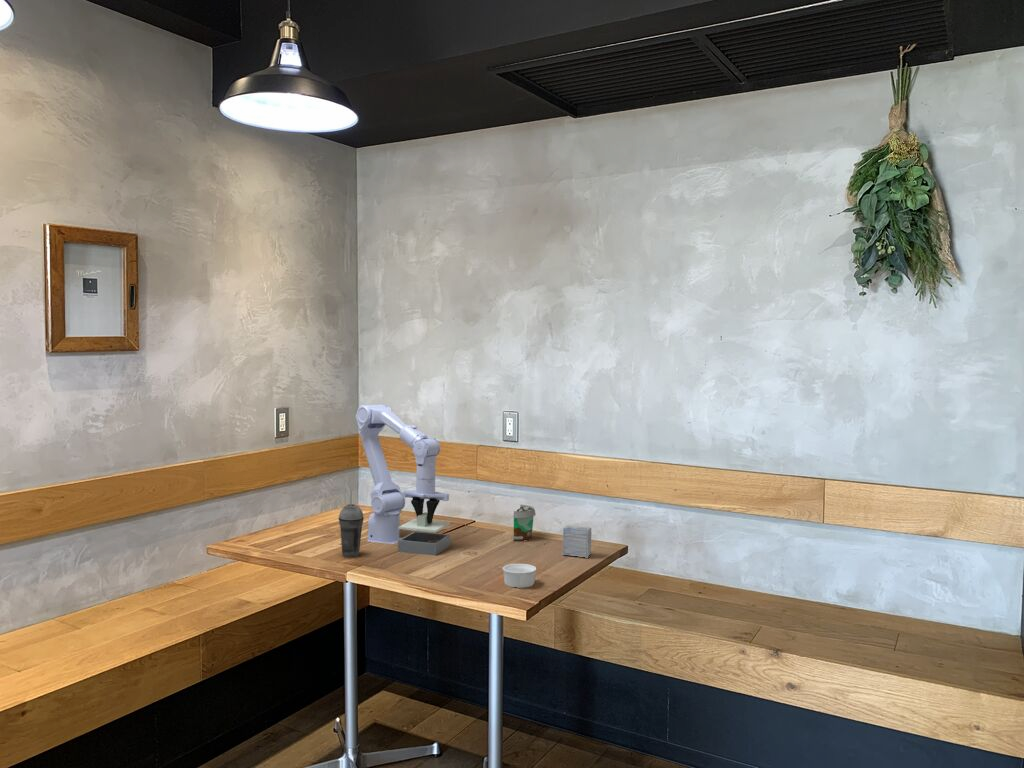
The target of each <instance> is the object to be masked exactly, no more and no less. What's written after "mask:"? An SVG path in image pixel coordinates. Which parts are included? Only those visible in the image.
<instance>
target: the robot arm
mask: <svg viewBox="0 0 1024 768" xmlns="http://www.w3.org/2000/svg"><path fill="white" fill-rule="evenodd" d="M355 419H356V424H357V426H358V430H359V437H360V440H361V443H362V447H363V450H364V453H365V457H366V460H367V464H368V466H369V470H370V475H371V478H372V481H373V484H374V488H372V490H371V491H370V494H369V495H370V498H371V499H370V500H371V503H370V504H371V508H372V510H373V512H372V513H370V515H369V518H368V522H367V523H368V524H367V540H366V542H373V543H380V544H381V543H382V544H389V545H390V544H392V545H394V544H396V543H397V544H398V540H400V539H402V538H403V537H401V536H400V529H398V527H399V526H401V525H400V519H401V516H400V514H401V513H402V510H403V509H404V508H405V506H406V498H412V500H410V502H411V505H412V507H413V509H414V512H415V514H416V517H417V516H419V515H421V514H423V513H424V505H425V504H426V509H427V510H426V511H427V523H428V524H430V523H432V520H434V515H435V512H436V509H437V507H438V506H439V504H440V501H443V502H448V501H449V500H450V493H446V492H445V493H444V492H437V491H436V472H437V471H436V467H437V466H436V462H437V458H436V457H437V456H438V455H439V454H440V452H441V445H440V442H439V441H438V440H437V438H436V437H429V436H427V434H425V433H423V432H422V431H420V429H418V427H417V426H416V425H415V424H414V425H413V424H409V425H407V424H406V423H405V422H404V421H402V420H401V418H399V417H398V416H397V415H396V414H395V413H394V412H393V409H392V408H391V407H390V406H389V405H387V404H386V403H381V404H368V405H367V404H361V405H360V406H359V407H358V409H357V412H356V414H355ZM385 426H387V427H388V428H390V429H392V430H393V431H394V432H396V433H397V434H399V439H400V441H401V442H403V443H404V444H405V445H407V446H408V447H409V448H411V449H412V453H413V456H414V458H415V460H414V461H415V464H416V478H415V479H416V480H415V481H416V483H415V484H416V488H415V490H405V489H404V490H403V491H401V489H400V485H398V484H397V483H395V482H394V481H392V478H391V474H390V471H389V467H388V464H387V462H386V458H385V453H384V450H383V448H382V444H381V442H380V439H379V434H380V432H382V431H383V430H384V428H385ZM425 500H426V501H425Z"/></svg>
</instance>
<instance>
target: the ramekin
mask: <svg viewBox="0 0 1024 768" xmlns="http://www.w3.org/2000/svg"><path fill="white" fill-rule="evenodd" d="M502 572H503V580H504V581H503V582H504V584H505V585H506V586H508V587H510V588H514V587H517V589H526V588H530V587H532V586H534V584H535V582H536V581H535V580H536V572H537V567H536V566H535V565H532V564H529V563H527V564H526V563H509V564H506V565H504V566H503V567H502ZM525 587H526V588H525Z"/></svg>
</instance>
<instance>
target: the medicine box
mask: <svg viewBox="0 0 1024 768" xmlns="http://www.w3.org/2000/svg"><path fill="white" fill-rule="evenodd" d="M562 529H563V530H562V556H563V555H573V556H583V557H588V556H589V555H590V554H591V555H592V527H591V526H581V525H580V526H579V525H569V524H568V525H565V526H564V527H563V528H562ZM591 555H590V556H591ZM590 556H589V557H590Z"/></svg>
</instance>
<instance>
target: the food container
mask: <svg viewBox="0 0 1024 768" xmlns="http://www.w3.org/2000/svg"><path fill="white" fill-rule="evenodd" d="M519 505H520V507H519V508H518V509H517V510H514V511H513V515H512V516H513V517H512V518H513V542H517V541H518V542H525V541H524V540H528V541H530V540H529V539H531V538H533V537H532V535H533V527H534V526H533V525H534V517H535V516H537V515H536V510H535V507H534V506H531V505H527V504H519ZM531 540H532V539H531Z"/></svg>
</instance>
